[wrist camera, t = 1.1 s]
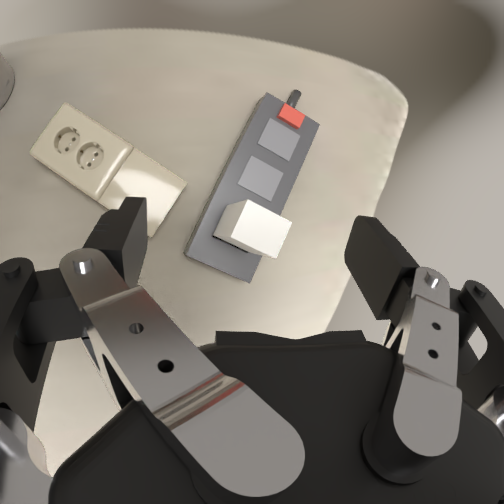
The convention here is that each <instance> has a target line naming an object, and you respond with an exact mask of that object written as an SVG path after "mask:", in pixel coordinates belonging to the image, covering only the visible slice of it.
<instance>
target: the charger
mask: <svg viewBox="0 0 504 504" xmlns="http://www.w3.org/2000/svg"><path fill="white" fill-rule="evenodd" d="M291 224H292V222H290V221H288V220H286V219H285V218H283V217H281V216H279V215H277V214H275V213H273V212H271V211H269V210H268V209H266V208H264V207H262V206H260V205H258V204H256V203H254V202H252V201H250V200H248V199H247V200H244V201H240V202H237V203H234V204H230V205H227V206H226V208H225V211H224V213H223V215H222V217H221V219H220V221H219V223H218V226H217V228H216V230H215V232H214V234H213V235H214V236H216V237H218V238H220V239H222V240H224V241H226V242H228V243H231V244H233V245H235V246H237V247H239V248H241V249H243V250H245V251H248V252H250V253H254V254H258V255H262V256H266V257H270V258H274V259H276V258H277V256H278V253H279V251H280V249H281V247H282V244H283V242H284V240H285V238H286V235H287V233H288V231H289V228H290V226H291Z"/></svg>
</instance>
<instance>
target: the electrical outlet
mask: <svg viewBox="0 0 504 504" xmlns="http://www.w3.org/2000/svg"><path fill="white" fill-rule="evenodd" d="M30 155H32V156H33V157H34V158H36V159H37V160H38V161H40V162H41V163H43V164H44V165H45V166H47V167H48V168H50V169H51V170H52V171H54V172H55V173H57V174H58V175H59V176H61V177H62V178H64V179H65V180H67V181H68V182H69V183H71V184H72V185H74V186H75V187H77V188H78V189H79V190H81V191H82V192H84V193H85V194H87V195H88V196H90V197H91V198H92V199H94V200H96V201H97V202H99V203H100V204H101V205H103V206H104V207H106V208H107V209H109V210H111V209H119V207H120V206H121V204H122V202H123V200H124V199H125V197H146V200H147V234H148V236H149V237H151V238H152V236H153V235H154V233H155V232H156V230H157V228H158V227H159V225H160V224H161V222H162V221H163V219H164V217H165V216H166V214H167V213H168V211H169V210H170V208H171V207H172V205H173V204H174V202H175V201H176V199H177V198H178V196H179V195H180V193H181V192H182V190H183V189H184V187H185V186H186V184H187V182H185V181H184V180H182V179H181V178H179V177H178V176H176V175H175V174H173V173H172V172H170V171H169V170H167V169H166V168H164V167H163V166H161V165H160V164H158V163H157V162H155V161H154V160H152V159H151V158H149V157H148V156H146V155H145V154H143V153H142V152H140V151H139V150H137V149H136V148H134V147H133V146H132V145H131V144H130V143H128V142H127V141H125V140H124V139H122V138H121V137H119V136H117V135H116V134H114V133H113V132H111V131H110V130H108V129H107V128H105V127H104V126H102V125H101V124H99V123H98V122H96V121H94V120H93V119H91V118H90V117H88V116H87V115H85V114H84V113H82V112H80V111H79V110H77V109H76V108H74V107H73V106H71V105H70V104H68V103H64V104H63V105H62V106H61V107H60V108H59V110H58V111H57V112H56V114H55V115H54V116H53V118H52V119H51V121H50V122H49V123H48V125H47V126H46V128H45V129H44V130H43V132H42V133H41V135H40V136H39V138H38V139H37V141H36V142H35V144H34V145H33V147H32V148H31V150H30Z"/></svg>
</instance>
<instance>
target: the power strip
mask: <svg viewBox="0 0 504 504" xmlns="http://www.w3.org/2000/svg"><path fill="white" fill-rule="evenodd" d="M300 96H301V92H300V91H298V90H293V92H292V94H291V96H290V98H289V100H288V102H287V104H286V103H284V102H283V101H281V100H279V99H278V98H276V97H274V96H273V95H271V94H269V93H266V94H265V95H264V96H263V97H262V98H261V99H260V100H259V102H258V104H257V105H256V107H255V109H254V111H253V113H252V115H251V117H250V119H249V120H248V122H247V124H246V126H245V128H244V130H243V132H242V134H241V136H240V138H239V140H238V141H237V143H236V145H235V147H234V149H233V151H232V153H231V155H230V157H229V159H228V161H227V163H226V165H225V167H224V169H223V171H222V173H221V175H220V177H219V179H218V181H217V183H216V185H215V187H214V189H213V192H212V194H211V196H210V198H209V200H208V202H207V204H206V206H205V208H204V210H203V212H202V215H201V217H200V219H199V221H198V223H197V225H196V227H195V230H194V232H193V234H192V236H191V238H190V241H189V243H188V245H187V247H186V249H185V252H184V254H185V255H187V256H189V257H191V258H193V259H195V260H198V261H200V262H202V263H204V264H207V265H209V266H211V267H213V268H216V269H218V270H220V271H222V272H225V273H227V274H229V275H231V276H234V277H236V278H238V279H241V280H243V281H245V282H247V283H250V282H251V280H252V277H253V275H254V273H255V271H256V268H257V266H258V264H259V262H260V259H261V257H262V255H258V254H254V253H250V252H248V251H245V250H243V249H241V250H240V249H237V248H235V247H233V246H231V245H229V244H227V243H225V242H222V241H220V240H218V239H216V238H214V237H212V236H213V233H214V231H215V229H216V227H217V225H218V223H219V220H220V218H221V216H222V214H223V212H224V210H225V208H226V206H227V205H230V204H234V203H237V202H240V201H244V200H247V199H248V200H250V201H252V202H254V203H256V204H258V205H260V206H262V207H264V208H266V209H268V210H269V211H271V212H273V213H275V214H277V215H279V216H280V214H281V212H282V210H283V208H284V205H285V203H286V201H287V199H288V196H289V194H290V192H291V189H292V187H293V185H294V183H295V180H296V178H297V176H298V174H299V171H300V169H301V167H302V164H303V162H304V160H305V157H306V155H307V153H308V151H309V148H310V146H311V144H312V141H313V139H314V137H315V134H316V132H317V130H318V128H319V125H320V124H318V123H317V122H315V121H314V120H312V119H310V118H309V117H307V116H306V115H304V114H302V113H301V112H299V111H298V110H296V109H294V108H295V106H296V104H297V102H298V100H299V98H300Z"/></svg>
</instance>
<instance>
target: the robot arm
mask: <svg viewBox="0 0 504 504" xmlns="http://www.w3.org/2000/svg"><path fill="white" fill-rule="evenodd" d="M13 85H14V72H13V69H12V68H11V66H10V65H9V64H8V62H7V61H6V60H5V58H4V57H3V56H2V54H1V53H0V109H1V108H2V107H3V105H4V104H5V103H6V101H7V100H8V98H9V96H10V94H11V91H12V89H13ZM147 240H148V234H147V200H146V197H125V199H124V200H123V202H122V204H121V206H120V207H119V209H111V210H109V211H108V212H106V213H105V214H103V215H102V216H101V218H100V219H99V221H98V222H97V225H96V226H95V227H94V229H93V231H92V232H91V234H90V236H89V237H88V239H87V241H86V242H85V244H84V246H83V248H82V249H77V250H74V251H72V252H70V253H68V254H67V255H65V256H64V257H63V258H62V259H61V261H60V264H59V268H56V269H51V270H44V271H37V272H35V269H34V265H33V263H32V261H30V260H29V259H27V258H22V257H19V258H13V259H9V260H7V261H5V262H3V263H1V264H0V504H504V309H503V307H502V306H501V305H500V304H499V302H498V301H497V300H496V298H495V297H494V296H493V295H492V293H491V292H490V291H489V290H488V289H487V288H486V287H485V286H484V285H482V284H481V283H479V282H476V281H473V280H467V281H466V282H465V284H464V286H463V288H462V290H461V291H460V290H456V289H453V288H450V286H449V282H448V281H447V279H446V278H445V277H444V276H443V275H442V274H440V273H439V272H437V271H436V270H434V269H431V268H428V267H420V266H419V265H418V264H417V263H416V261H415V260H414V259H413V257H412V256H411V255H410V254H409V253H408V252H406V251H407V250H406V249H405V248H404V247H403V246H401V243H400V242H399V241H398V240H397V239H396V237H394V236H393V235H392V234H390V233H389V232H388V231H387V229H386V228H385V227H384V226H383V225H382V224H381V223H380V221H379V220H378V219H377V218H375V217H368V216H357V217H356V219H355V221H354V224H353V227H352V230H351V233H350V236H349V239H348V242H347V245H346V249H345V254H344V258H345V263H346V265H347V267H348V269H349V271H350V272H351V274H352V276H353V278H354V279H355V281H356V283H357V285H358V287H359V288H360V290H361V292H362V294H363V296H364V297H365V299H366V301H367V303H368V305H369V307H370V308H371V310H372V312H373V314H374V316H375V318H376V320H385V319H386V320H387V319H390V320H391V321H390V323H389V325H388V327H387V329H386V332H385V335H384V338H383V341H382V344H381V345H380V344H377V343H374V342H370V341H366V339H365V337H364V335H363V332H362V330H355V331H330V332H326V333H322V334H318V335H314V336H310V337H306V338H302V339H289V338H283V337H278V336H273V335H268V334H263V333H258V332H230V331H216V335H215V343H211V344H207V345H203V346H200V347H196V346H195V345H194V344H193V343H192V342H191V341H190V340H189V338H188V337H187V336H186V335H185V334H184V333H183V332H182V331H181V330H180V329H179V328H178V327H177V325H176V324H175V323H174V322H173V321H172V320H171V319H170V318H169V317H168V315H167V314H166V313H165V312H164V311H163V310H162V309H161V308H160V306H159V305H158V304H157V303H156V302H155V301H154V300H153V298H152V297H151V296H150V295H149V294H148V293H147V291H146V290H145V289H144V288H143V287H142V286H140V285H138V286H137V283H138V279H139V275H140V272H141V268H142V265H143V261H144V258H145V254H146V250H147ZM477 326H478V327H479V328H480V330H481V331H482V333H483V334H484V336H485V337H486V339H487V343H488V345H487V350H486V352H485V354H484V355H483V356H482V358H481V359H480V360H478V358H477V356H476V355H475V353H474V351H473V350H472V348H471V346H470V345H469V343H468V340H469V338H470V337H471V335H472V334H473V332H474V331H475V330H476V328H477ZM74 338H80V341H81V343H82V344H83V346H84V348H85V350H86V352H87V354H88V356H89V357H90V359H91V361H92V363H93V365H94V366H95V368H96V370H97V372H98V373H99V375H100V377H101V378H102V380H103V382H104V384H105V386H106V388H107V390H108V392H109V394H110V396H111V398H112V400H113V401H114V403H115V405H116V407H117V408H118V410H119V411H120V412H118V413H117V414H116V415H115V416H114V417H113V418H112V419H111V420H110V421H109V422H108V423H106V424H105V425H104V426H103V427H102V428H101V429H100V430H99V431H98V432H97V433H95V434H94V435H93V436H92V437H91V438H90V439H89V440H88V441H87V442H85V443H84V444H83V445H82V446H81V447H80V448H79V449H78V450H77V451H75V452H74V453H73V454H72V455H71V456H70V457H69V458H68V459H66V460H65V461H64V462H63V463H62V464H61V466H60V467H59V468H58V470H57V471H56V473H55V475H54V477H51V476H50V474H49V472H48V469H47V464H46V452H45V448H44V446H43V444H42V442H41V441H40V439H39V438H38V437H37V436H36V435H35V434H34V433H33V432H34V427H35V421H36V417H37V412H38V407H39V403H40V398H41V394H42V390H43V386H44V382H45V378H46V374H47V371H48V367H49V363H50V360H51V356H52V353H53V350H54V346H55V343H56V341H61V340H67V339H74Z"/></svg>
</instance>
